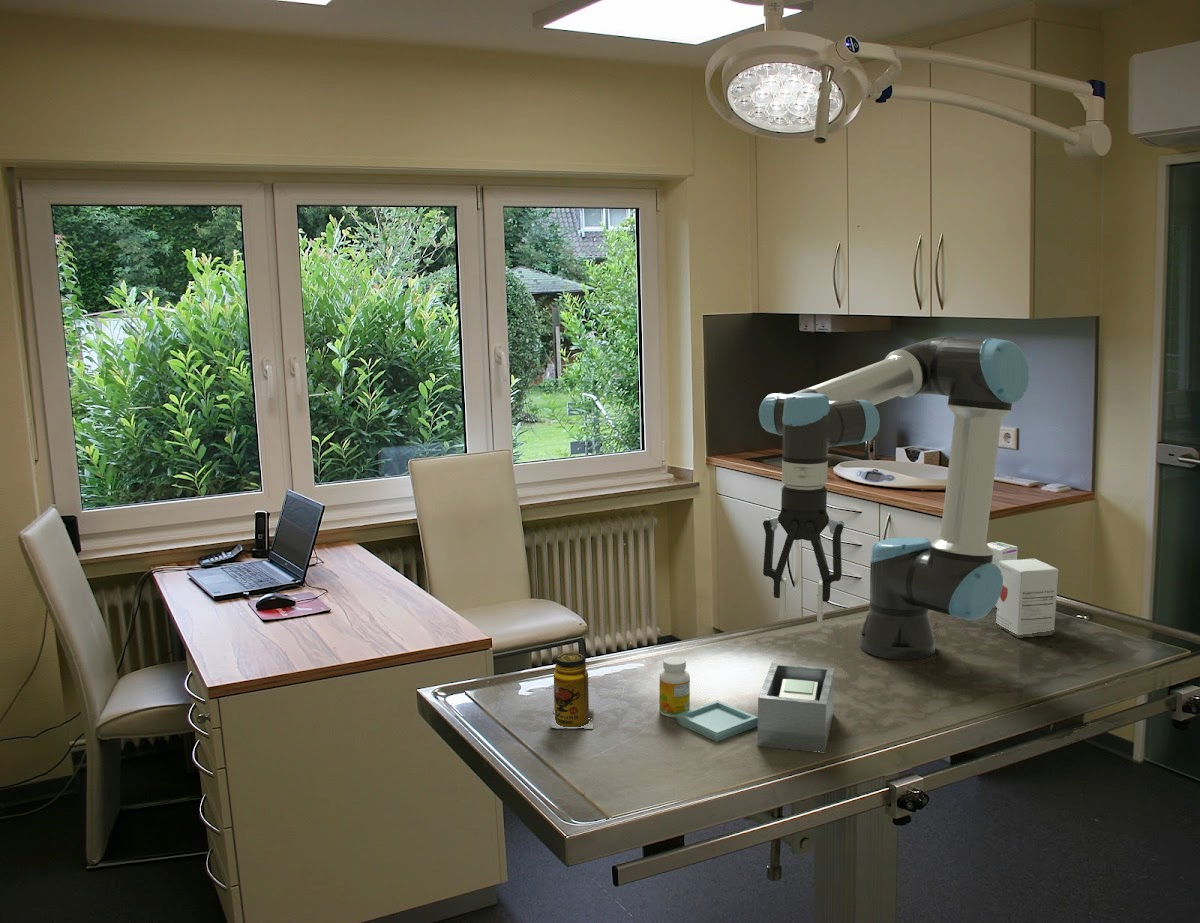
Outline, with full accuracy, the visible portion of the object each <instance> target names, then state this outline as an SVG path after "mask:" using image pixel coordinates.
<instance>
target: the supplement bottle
mask: <svg viewBox="0 0 1200 923" xmlns="http://www.w3.org/2000/svg"><path fill="white" fill-rule="evenodd" d="M686 668H687V661H686V659H685V658H683V657H680V656H669V657H666V658H664V659H663V669H662V671H661V672H660V673H659V678H658V679H659V705H658V706H659V707H658V708H659V713H660V714H661V715H663V716H664V717H668V718H676V719H677V714H679V713H682V712H685V711H688V710H691V708H690V706H691V702H690V701H691V700H690V691H691V690H690V688H691V685H690V683H691V682H690V681H691V677H690V673H689V672H688V671H687V670H686Z"/></svg>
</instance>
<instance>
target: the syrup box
mask: <svg viewBox="0 0 1200 923" xmlns="http://www.w3.org/2000/svg"><path fill="white" fill-rule="evenodd" d="M986 543H987V542H986ZM987 545H988V546H989V547H990V549H991V550H992V551H993V559H992V563H993V564H995V565H996V566H997V567H999V562H1000V561H1003V560H1018V550H1019V549H1018V546H1016V545H1012V544H1009V543H1005V542H1000V541H992V542H988V543H987ZM995 606H996V607H997V603H996V605H995Z"/></svg>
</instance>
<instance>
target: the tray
mask: <svg viewBox="0 0 1200 923" xmlns="http://www.w3.org/2000/svg"><path fill="white" fill-rule="evenodd" d="M675 723H676V724H678V725H680V726H682V727H683V728H686V729H689V730H691V731H693V732H696V733H697V734H699V735H702V736H704V737H706V738H708V739H711V740H713V741H715V742H720V741H722V740H725V739H727V738H730V737H732V736H735V735H736V736H737V735H738V734H741V733H743V732H746V731H750V729H753V728H756V727H757V728H758V715H757V716H756V715H754V714H752V713H750V712H748V711H744V710H742V709H739V708H738V707H735V706H733V705H730V704H728V703H725V702H722V701H721V700H718V699H716V700H714V701H711V702H708V703H705V704H703V705H699V706H697V707H694V708H690V709H689V710H688V711H685V712H682V713H679V714H677V718H676V722H675Z"/></svg>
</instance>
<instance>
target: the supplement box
mask: <svg viewBox="0 0 1200 923" xmlns="http://www.w3.org/2000/svg"><path fill="white" fill-rule="evenodd" d="M999 569H1000V570H1001V574H1002V576H1003V586H1002V591H1001V594H1000V597H999V599H998V601H997V609H996V620H995V622H996V623H997V624H999V625H1000V626H1002V627H1004V628H1006V629H1008V630H1009V631H1011V632H1013V633H1015V634H1017V635H1023V634H1032V633H1037V632H1046V631H1051V630H1054V631H1055V624H1056V623H1055V622H1056V610H1057V594H1058V580H1059V569H1058V568H1057V567H1054V566H1052V565H1050V564H1048V563H1046V562H1044V561H1041V560H1039V559H1037V558H1025V559H1017V560H1003V561H1000V562H999ZM996 623H995V624H996Z"/></svg>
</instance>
